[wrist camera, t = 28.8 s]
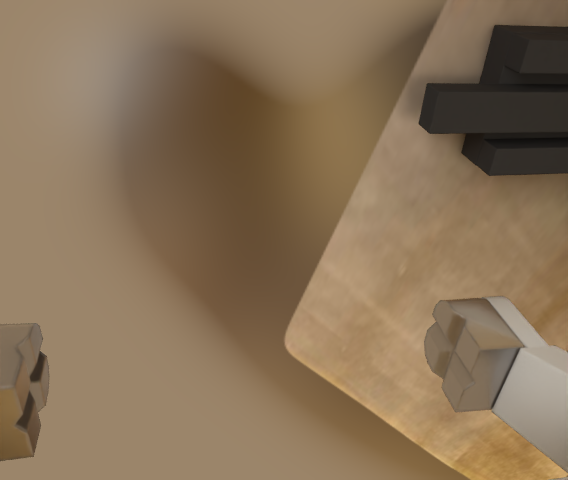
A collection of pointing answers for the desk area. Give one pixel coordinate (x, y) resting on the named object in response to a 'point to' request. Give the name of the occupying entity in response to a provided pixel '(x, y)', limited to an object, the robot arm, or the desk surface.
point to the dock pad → (523, 70)
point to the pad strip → (494, 108)
